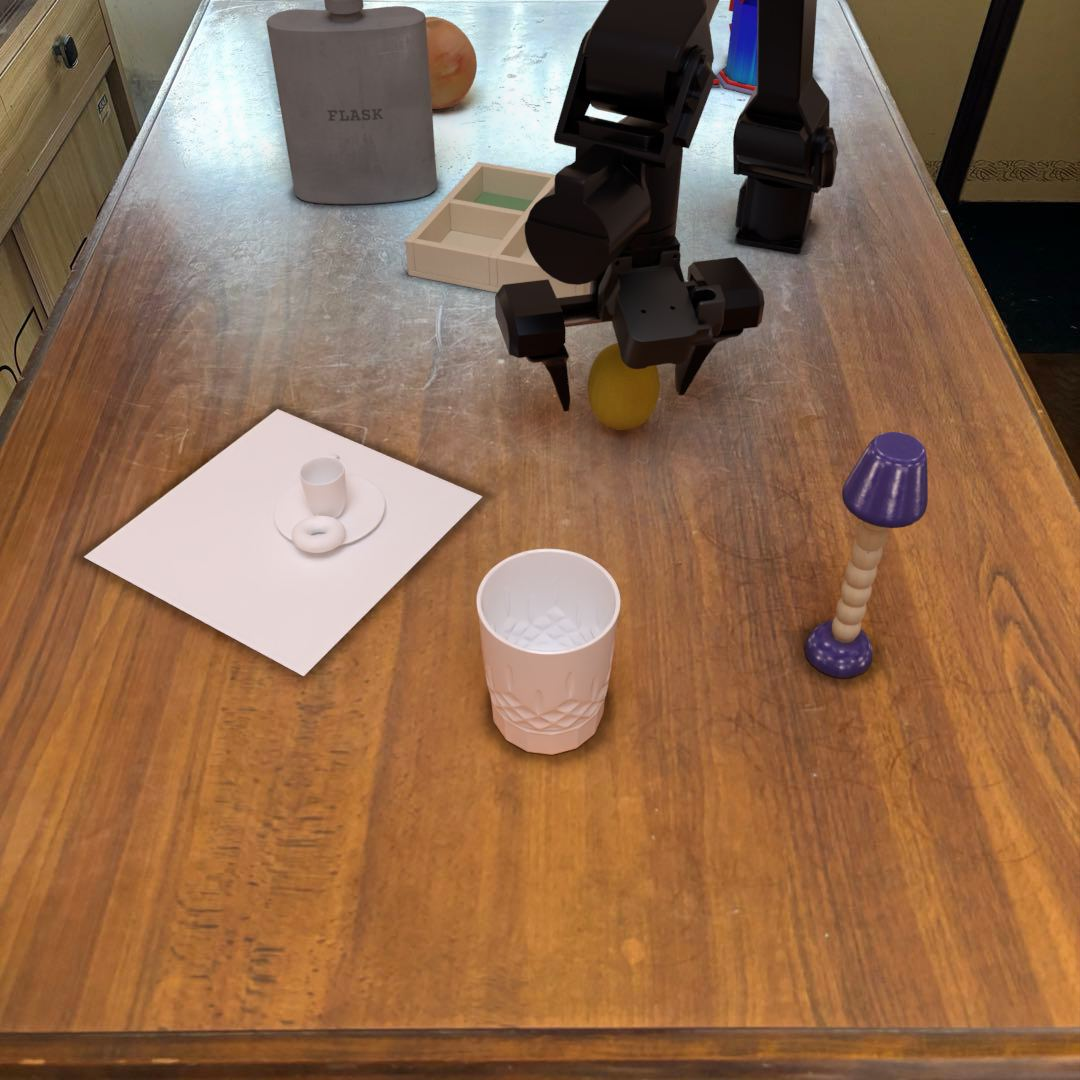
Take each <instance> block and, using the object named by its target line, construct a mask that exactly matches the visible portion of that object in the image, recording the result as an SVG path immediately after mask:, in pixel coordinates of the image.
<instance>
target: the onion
mask: <svg viewBox="0 0 1080 1080" xmlns="http://www.w3.org/2000/svg"><path fill="white" fill-rule="evenodd" d="M426 30H427V44H428V59H429V73H430V88H431V102H432V110H439V109H446V108H450V107H453V106H456V105H458V104H460V103H461V102H462V101H463V100H464V98H465V97H466V96H467V95H468V93H469V91H470V90H471V88H472V86H473V84H474V81H475V79H476V75H477V70H478V60H477V54H476V51H475V48H474V46H473V43H472V42H471V40H470V39H469V37H468V36H467V35H466V33H465V32H464V31H463V30H461V28H460V27H458V26H457V25H456V24H455V23H454V22H451V21H449V20H447V19H444V18H441V17H439V16H438V17H437V16H426Z"/></svg>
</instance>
